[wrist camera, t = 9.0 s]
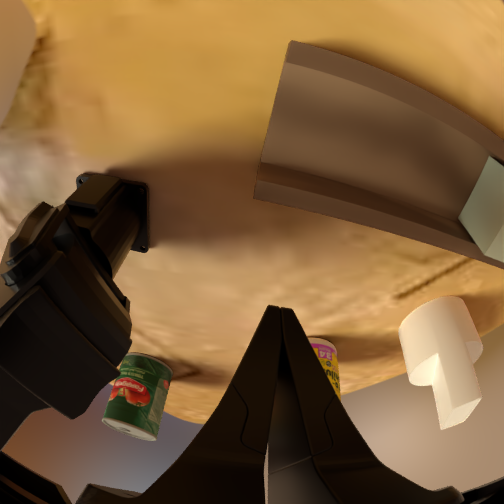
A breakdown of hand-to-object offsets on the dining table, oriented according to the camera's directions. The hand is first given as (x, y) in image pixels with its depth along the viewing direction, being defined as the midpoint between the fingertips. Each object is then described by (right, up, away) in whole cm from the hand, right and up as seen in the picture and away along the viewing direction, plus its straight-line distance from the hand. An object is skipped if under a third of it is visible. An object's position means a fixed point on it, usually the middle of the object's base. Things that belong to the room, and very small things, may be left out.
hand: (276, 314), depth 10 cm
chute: (+11, +8, +7) cm, 16 cm away
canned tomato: (-16, -15, +30) cm, 37 cm away
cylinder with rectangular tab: (+20, -6, +18) cm, 28 cm away
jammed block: (+18, +6, +7) cm, 21 cm away
